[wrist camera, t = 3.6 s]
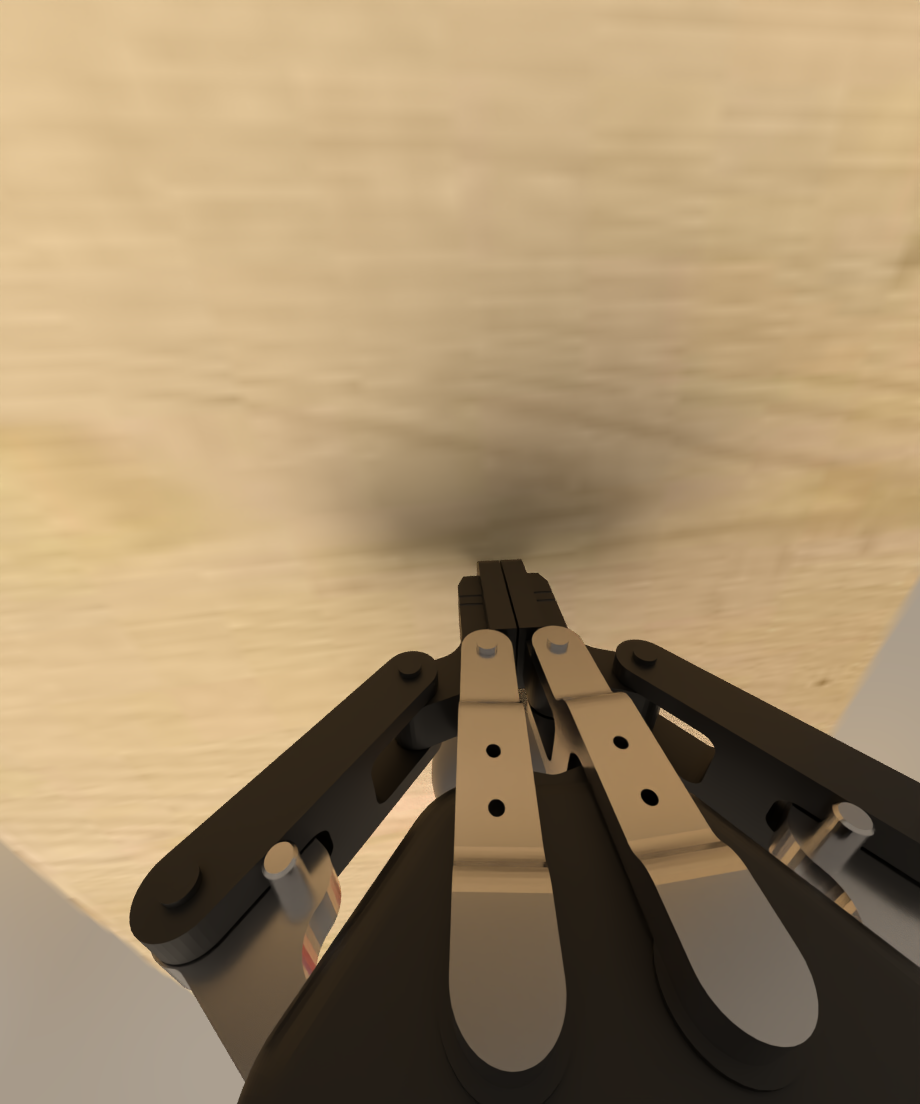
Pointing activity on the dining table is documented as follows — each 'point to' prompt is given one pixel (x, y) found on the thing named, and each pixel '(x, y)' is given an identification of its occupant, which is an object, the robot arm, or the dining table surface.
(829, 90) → the dining table surface
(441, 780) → the gray ball
